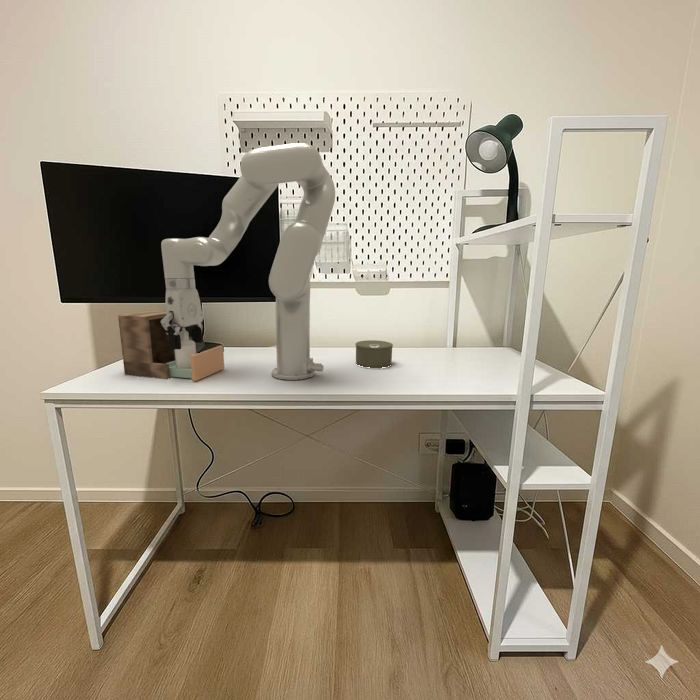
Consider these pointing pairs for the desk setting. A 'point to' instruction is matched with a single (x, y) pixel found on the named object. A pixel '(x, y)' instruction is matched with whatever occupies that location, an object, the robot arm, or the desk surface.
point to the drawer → (200, 364)
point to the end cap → (198, 345)
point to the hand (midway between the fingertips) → (187, 345)
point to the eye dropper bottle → (184, 351)
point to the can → (373, 353)
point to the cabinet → (145, 344)
